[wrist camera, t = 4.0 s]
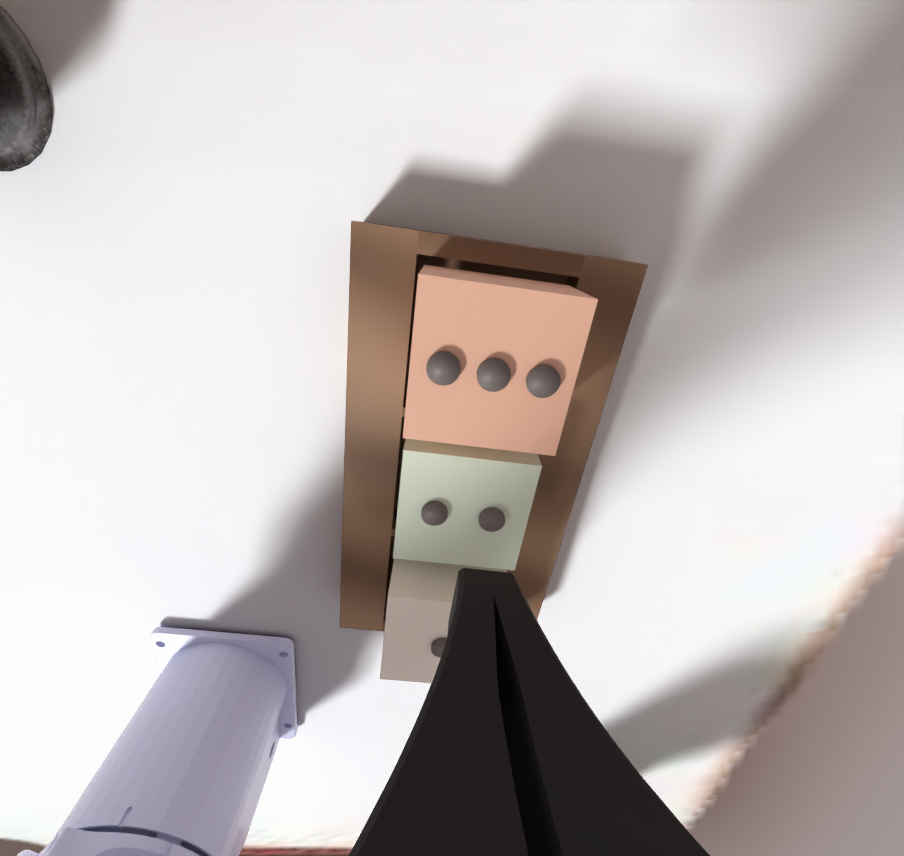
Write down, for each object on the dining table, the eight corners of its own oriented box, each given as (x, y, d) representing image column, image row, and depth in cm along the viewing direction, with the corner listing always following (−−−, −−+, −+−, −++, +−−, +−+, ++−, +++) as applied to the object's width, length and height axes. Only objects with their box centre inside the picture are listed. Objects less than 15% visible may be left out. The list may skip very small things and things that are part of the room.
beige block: (486, 626, 22) (492, 692, 19) (389, 618, 21) (379, 683, 18) (504, 552, 20) (513, 612, 17) (396, 541, 19) (387, 600, 16)
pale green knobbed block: (505, 521, 20) (515, 574, 17) (401, 510, 20) (392, 562, 17) (527, 428, 18) (543, 469, 15) (410, 413, 18) (402, 452, 15)
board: (523, 613, 24) (529, 644, 22) (348, 596, 24) (339, 627, 22) (625, 260, 16) (647, 264, 14) (363, 221, 15) (351, 221, 14)
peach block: (536, 416, 17) (556, 459, 14) (411, 401, 16) (401, 440, 13) (568, 285, 15) (600, 300, 11) (424, 264, 14) (417, 274, 11)
